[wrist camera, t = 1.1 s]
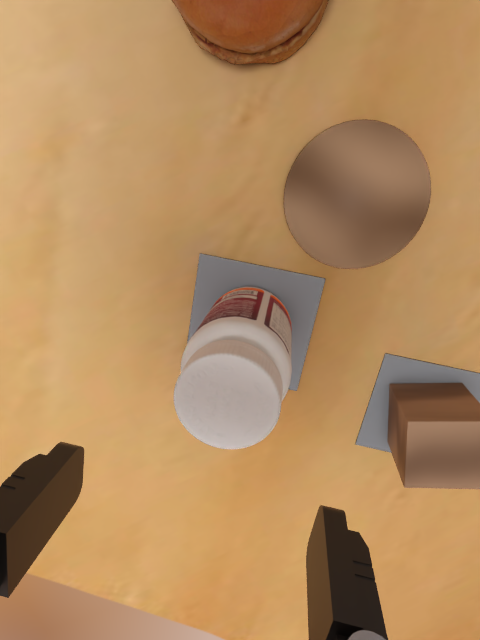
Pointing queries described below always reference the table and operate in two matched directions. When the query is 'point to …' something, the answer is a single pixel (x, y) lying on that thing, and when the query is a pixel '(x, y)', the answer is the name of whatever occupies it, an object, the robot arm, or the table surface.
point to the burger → (251, 27)
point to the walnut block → (435, 435)
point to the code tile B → (400, 373)
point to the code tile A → (285, 285)
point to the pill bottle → (236, 370)
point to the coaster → (357, 194)
